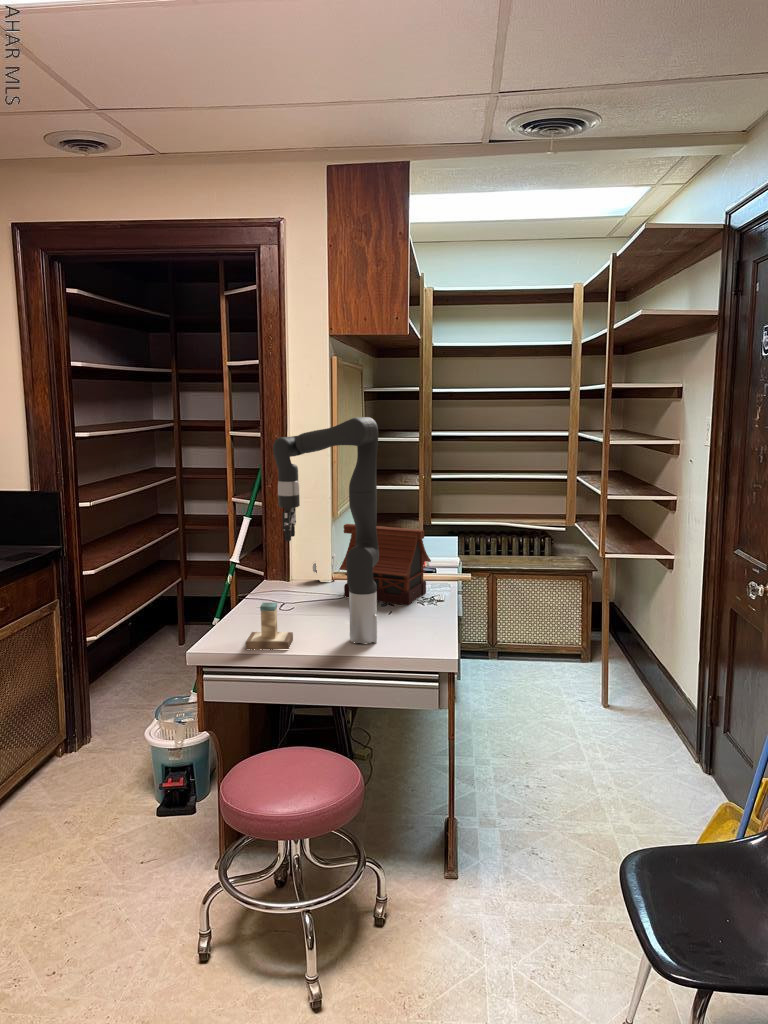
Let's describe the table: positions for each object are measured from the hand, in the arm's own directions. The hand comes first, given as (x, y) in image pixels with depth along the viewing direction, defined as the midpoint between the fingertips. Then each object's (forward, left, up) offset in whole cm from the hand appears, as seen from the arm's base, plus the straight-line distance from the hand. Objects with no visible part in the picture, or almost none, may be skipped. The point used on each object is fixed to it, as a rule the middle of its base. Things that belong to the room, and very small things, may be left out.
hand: (289, 538), depth 258 cm
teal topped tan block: (+4, +21, -29) cm, 36 cm away
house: (-32, -41, -32) cm, 61 cm away
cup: (-5, -64, -32) cm, 72 cm away
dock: (+4, +21, -32) cm, 39 cm away
